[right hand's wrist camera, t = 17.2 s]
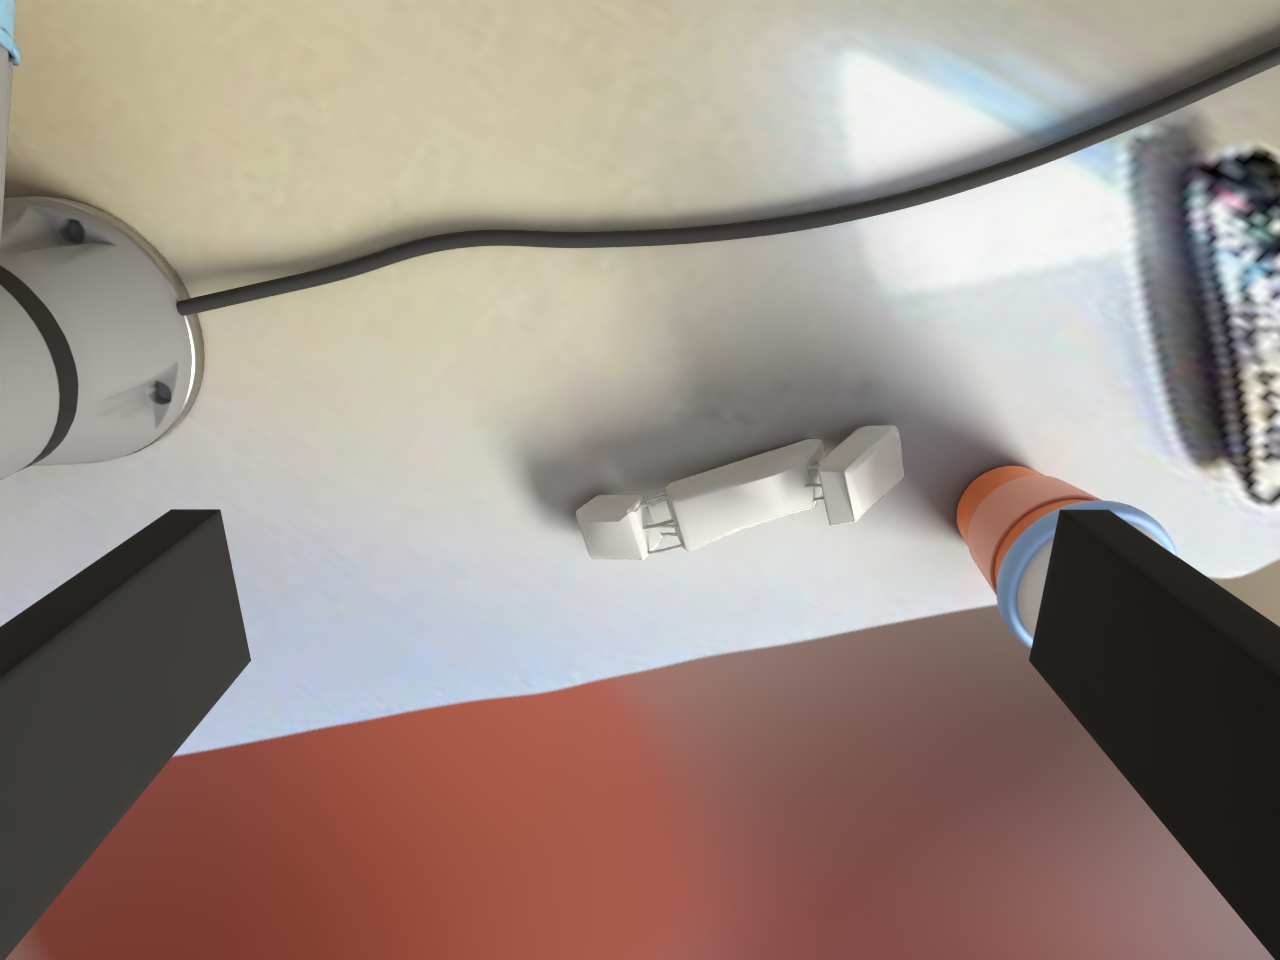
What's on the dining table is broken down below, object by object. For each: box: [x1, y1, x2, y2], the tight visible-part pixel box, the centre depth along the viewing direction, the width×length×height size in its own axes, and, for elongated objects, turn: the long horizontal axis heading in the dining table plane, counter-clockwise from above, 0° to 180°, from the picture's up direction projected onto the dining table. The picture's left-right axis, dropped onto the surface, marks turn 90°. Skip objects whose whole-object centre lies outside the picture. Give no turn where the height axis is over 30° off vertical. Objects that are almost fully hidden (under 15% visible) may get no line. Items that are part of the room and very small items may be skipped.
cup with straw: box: [957, 466, 1178, 648], centre depth 42 cm, size 9×9×18 cm
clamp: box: [576, 425, 905, 560], centre depth 47 cm, size 20×4×7 cm, turn 106°
